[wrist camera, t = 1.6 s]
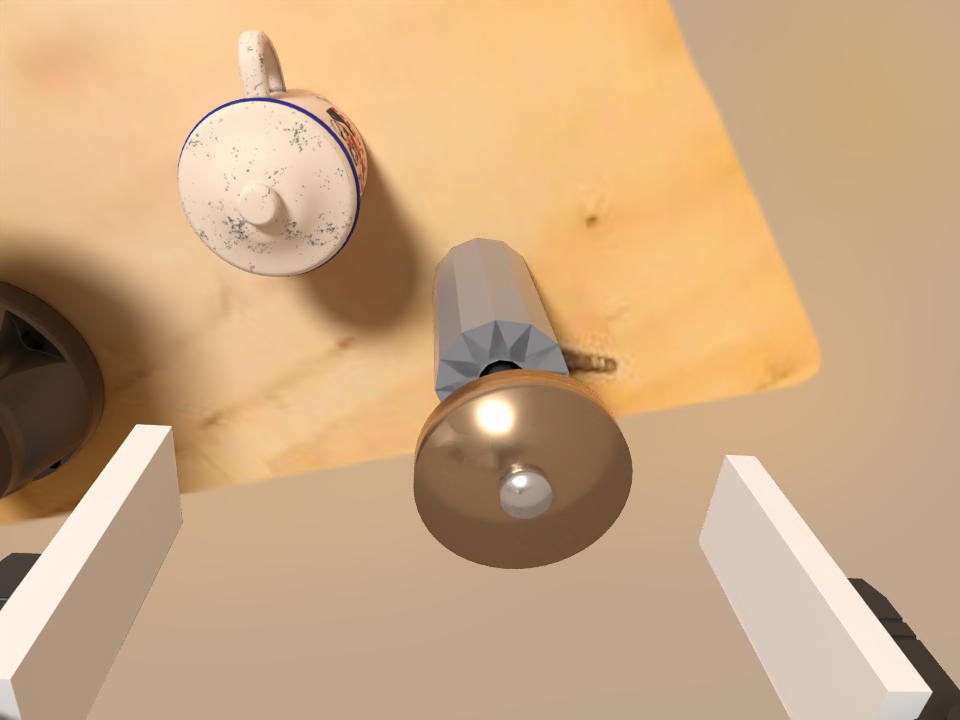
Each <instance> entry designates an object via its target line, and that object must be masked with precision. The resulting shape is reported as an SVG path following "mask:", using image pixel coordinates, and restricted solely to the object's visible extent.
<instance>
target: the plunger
mask: <svg viewBox="0 0 960 720" xmlns="http://www.w3.org/2000/svg"><path fill="white" fill-rule="evenodd" d="M487 367H488V372H489V375H486V376H483V377H480V378H478V379H476V380H473V381H471V382H469V383H467V384H465V385H464V386H462V387H460V388H459V389H457V390H456V391H454V392H453V393H452V394H450V395H449V396H448V397H446V398H445V399H444V400H443V401H442V402H441V403H440V404H439V405H438V406H437V407H436V408H435V410H434V411H433V412H432V414H431V415H430V416H429V418H428V419H427V421H426V423H425V424H424V426H423V428H422V430H421V433H420V435H419V438H418V441H417V445H416V450H415V460H414V461H415V462H414V497H415V502H416V506H417V509H418V512H419V514H420V516H421V519H422V521H423V523H424V524H425V526H426V527H427V529H428V530H429V532H430V533H431V534H432V535H433V536H434V537H435V538H436V539H437V540H438V541H439V542H440V543H441V544H442V545H444V546H445V547H446V548H447V549H449V550H450V551H452V552H453V553H455V554H456V555H459V556H461V557H463V558H465V559H467V560H469V561H472V562H475V563H478V564H481V565H486V566H490V567H497V568H504V569H523V568H533V567H539V566H544V565H548V564H551V563H555V562H558V561H561V560H563V559H566V558H568V557H571V556H573V555H575V554H576V553H578V552H580V551H582V550H584V549H585V548H587V547H588V546H590V545H591V544H593V543H594V542H595V541H596V540H598V539H599V538H600V537H601V536H602V535H603V534H604V533H605V532H606V531H607V530H608V529H609V528H610V527H611V525H613V523H614V522H615V520H616V519H617V518H618V516H619V515H620V513H621V511H622V509H623V508H624V506H625V503H626V501H627V498H628V496H629V492H630V488H631V483H632V461H631V456H630V452H629V448H628V446H627V444H626V441H625V439H624V437H623V435H622V432H621V430H620V428H619V426H618V424H617V422H616V420H615V418H614V416H613V414H612V412H611V411H610V409H609V408H608V406H607V405H606V404H605V403H604V401H603V400H602V399H601V398H600V397H599V396H598V395H597V394H596V393H594V392H593V391H592V390H591V389H590V388H588V387H586V386H585V385H583V384H582V383H580V382H578V381H576V380H574V379H572V378H570V377H567V376H565V375H561V374H558V373H555V372H550V371H544V370H538V369H515V370H511V366H510V361H505V360H498V361H496V362H493V363H490V364H488V365H487Z"/></svg>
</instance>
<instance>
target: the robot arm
mask: <svg viewBox="0 0 960 720" xmlns="http://www.w3.org/2000/svg"><path fill="white" fill-rule="evenodd" d="M103 406H104V387H103V381H102V376H101V373H100V370H99V367H98V364H97V362H96V360H95V358H94V356H93V354H92V352H91V350H90V348H89V347H88V345H87V344H86V342H85V341H84V339H83V338H82V337H81V336H80V334H79V333H78V332H77V331H76V330H75V328H74V327H73V326H72V325H71V324H70V323H69V322H68V321H67V320H66V319H65V318H64V317H62V316H61V315H60V314H59V313H58V312H57V311H55V310H54V309H53V308H51V307H50V306H49V305H47V304H46V303H44V302H43V301H41V300H39V299H38V298H36V297H34V296H33V295H31V294H29V293H27V292H25V291H23V290H21V289H19V288H16V287H14V286H11V285H9V284H6V283H3V282H0V499H2V498H4V497H6V496H8V495H10V494H12V493H14V492H16V491H18V490H20V489H22V488H23V487H25V486H27V485H29V484H30V483H31V482H33V481H36V480H39V479H41V478H43V477H45V476H47V475H49V474H51V473H53V472H55V471H56V470H58V469H59V468H61V467H62V466H64V465H65V464H66V463H67V462H69V461H70V460H71V459H72V458H73V457H74V456H75V455H76V454H77V453H78V452H79V450H80V449H81V448H82V447H83V446H84V444H85V443H86V442H87V441H88V439H89V438H90V437H91V436H92V434H93V433H94V431H95V429H96V428H97V426H98V424H99V421H100V418H101V415H102V411H103ZM182 523H183V522H182V512H181V503H180V494H179V485H178V476H177V466H176V457H175V448H174V439H173V430H172V426H160V425H141V424H137V425H136V426H135V427H134V429H133V430H132V431H131V433H130V434H129V436H128V437H127V438H126V440H125V441H124V442H123V444H122V445H121V446H120V448H119V449H118V451H117V452H116V453H115V455H114V456H113V457H112V459H111V460H110V462H109V463H108V464H107V466H106V467H105V468H104V470H103V471H102V472H101V474H100V475H99V477H98V478H97V479H96V481H95V482H94V483H93V485H92V486H91V488H90V489H89V490H88V492H87V493H86V494H85V496H84V497H83V498H82V500H81V501H80V503H79V504H78V505H77V507H76V508H75V509H74V511H73V512H72V514H71V515H70V516H69V518H68V519H67V520H66V522H65V523H64V525H63V526H62V527H61V529H60V530H59V531H58V533H57V534H56V536H55V537H54V538H53V539H52V541H51V542H50V544H49V545H48V547H47V548H46V549H45V550H44V552H43V553H42V554H31V553H30V554H29V553H11V554H10V555H9V556H7V557H6V558H4V559H3V560H1V561H0V720H85V719H86V717H87V714H88V713H89V711H90V709H91V707H92V704H93V702H94V700H95V698H96V696H97V694H98V692H99V690H100V688H101V686H102V684H103V682H104V680H105V678H106V676H107V674H108V672H109V670H110V668H111V666H112V664H113V662H114V660H115V658H116V656H117V654H118V652H119V650H120V648H121V646H122V644H123V642H124V639H125V638H126V636H127V634H128V632H129V630H130V627H131V626H132V624H133V621H134V620H135V618H136V616H137V614H138V612H139V610H140V608H141V605H142V603H143V601H144V599H145V597H146V595H147V593H148V591H149V589H150V587H151V585H152V583H153V581H154V579H155V577H156V575H157V573H158V571H159V569H160V567H161V565H162V563H163V561H164V559H165V557H166V555H167V553H168V551H169V549H170V547H171V545H172V543H173V541H174V539H175V537H176V535H177V533H178V530H179V529H180V527H181V525H182ZM698 542H699V544H700V546H701V548H702V550H703V552H704V554H705V556H706V558H707V559H708V561H709V563H710V565H711V567H712V569H713V571H714V573H715V575H716V577H717V579H718V581H719V582H720V585H721V587H722V588H723V590H724V592H725V594H726V596H727V598H728V600H729V602H730V604H731V606H732V607H733V610H734V612H735V613H736V615H737V617H738V619H739V621H740V623H741V625H742V627H743V629H744V631H745V633H746V635H747V637H748V638H749V640H750V642H751V644H752V646H753V648H754V650H755V652H756V654H757V656H758V658H759V660H760V662H761V663H762V665H763V667H764V669H765V671H766V673H767V675H768V677H769V679H770V681H771V683H772V685H773V687H774V689H775V690H776V692H777V694H778V696H779V698H780V700H781V702H782V704H783V706H784V708H785V710H786V711H787V713H788V715H789V717H790V719H791V720H960V690H959V689H958V688H957V686H956V685H955V684H954V682H953V681H952V680H951V679H950V677H949V676H948V675H947V674H946V672H945V671H944V670H943V669H942V667H941V666H940V665H939V664H938V663H937V661H936V660H935V659H934V657H933V656H932V655H931V654H930V652H929V651H928V650H927V649H926V647H925V646H924V645H923V644H922V642H921V641H920V640H917V639H916V635H915V634H914V632H913V631H912V630H911V629H910V627H909V626H908V625H907V624H906V623H903V621H902V617H901V616H900V615H899V613H898V612H897V611H896V610H895V608H894V607H893V606H892V605H891V603H890V602H889V601H888V600H887V598H886V597H885V596H883V595H882V594H881V593H879V592H878V591H877V590H876V589H874V588H873V587H872V586H871V585H869V584H868V583H867V582H865V581H864V580H863V579H853V578H846V576H845V575H844V574H843V572H842V571H841V570H840V569H839V567H838V566H837V565H836V563H835V562H834V561H833V559H832V558H831V557H830V555H829V554H828V553H827V551H826V550H825V549H824V547H823V546H822V545H821V543H820V542H819V541H818V539H817V538H816V537H815V535H814V534H813V533H812V531H811V530H810V529H809V527H808V526H807V525H806V523H805V522H804V521H803V519H802V518H801V517H800V515H799V514H798V513H797V511H796V510H795V509H794V507H793V506H792V505H791V504H790V502H789V501H788V500H787V498H786V497H785V496H784V495H783V493H782V492H781V490H780V489H779V488H778V486H777V485H776V484H775V482H774V481H773V480H772V478H771V477H770V476H769V474H768V473H767V472H766V470H765V469H764V468H763V466H762V465H761V464H760V462H759V461H758V460H757V459H756V457H755V456H737V455H736V456H735V455H725V458H724V462H723V465H722V468H721V471H720V474H719V477H718V481H717V484H716V487H715V490H714V494H713V497H712V500H711V503H710V506H709V509H708V513H707V516H706V519H705V522H704V525H703V528H702V532H701V535H700V538H699V541H698Z"/></svg>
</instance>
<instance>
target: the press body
mask: <svg viewBox="0 0 960 720" xmlns="http://www.w3.org/2000/svg"><path fill="white" fill-rule="evenodd" d="M433 323H434V372H435V391H436V394H437V396H438V398H439V400H440V402H442V401H443V400H444V399H445V398H446V397H448V396H449V395H450V394H452V393H453V392H454V391H456V390H457V389H459V388H460V387H462V386H464V385H465V384H467V383H469V382H471V381H473V380H476V379H478V378H480V377H483V376H486V375H489V372H488V367H487V365H488V364H490V363H493V362H496V361H498V360H505V361H510V366H511V370H515V369H538V370H544V371H550V372H555V373H558V374H561V375H565V376H567V377H568V376H569V371H568V369H567V366H566V363H565V360H564V358H563V355H562V352H561V350H560V347H559V344H558V341H557V339H556V337H555V334H554V332H553V329H552V327H551V324H550V322H549V319H548V317H547V315H546V312H545V310H544V307H543V305H542V302H541V300H540V298H539V295H538V293H537V290H536V288H535V285H534V283H533V281H532V278H531V276H530V273H529V271H528V268H527V266H526V263H525V261H524V259H523V257H522V256H521V255H519V254H518V253H517V252H516V251H514V250H513V249H512V248H510V247H509V246H508V245H507V244H505V243H504V242H502V241H495V240H487V239H480V238H476V239H473V240H471V241H468V242H466V243H463V244H461V245H458V246H456V247H453V248H452V249H451V250H450V251H449V253H448V254H447V255H446V256H445V258H444V259H443V260H442V261H441V263H440V264H439V265H438V266H437V268H436V273H435V281H434V288H433Z"/></svg>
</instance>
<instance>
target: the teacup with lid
mask: <svg viewBox="0 0 960 720" xmlns="http://www.w3.org/2000/svg"><path fill="white" fill-rule="evenodd" d="M238 63H239V70H240V76H241V81H242V85H243V90H244V94H245V99H240V100H236V101H232V102H229V103H227V104H224V105H222V106H220V107H218V108H216V109H214V110H213V111H211V112H210V113H208V114H207V115H206V116H205V117H204V118H202V119H201V120H200V122H199V123H198V124H197V125H196V126H195V127H194V129H193V130H192V131H191V133H190V134H189V136H188V138H187V139H186V141H185V144H184V146H183V148H182V152H181V155H180V159H179V164H178V189H179V195H180V200H181V204H182V207H183V210H184V212H185V215H186V217H187V219H188V221H189V223H190V225H191V227H192V228H193V230H194V231H195V233H196V234H197V235H198V237H199V238H200V239H201V240H202V242H203V243H204V244H205V245H206V246H207V247H208V248H209V249H210V250H211V251H213V252H214V253H215V254H216V255H217V256H219V257H220V258H221V259H223V260H224V261H226V262H228V263H229V264H231V265H233V266H235V267H237V268H239V269H242V270H244V271H247V272H250V273H253V274H258V275H262V276H270V277H286V276H294V275H299V274H303V273H307V272H309V271H312V270H314V269H316V268H319V267H320V266H322V265H324V264H325V263H327V262H328V261H330V260H331V259H332V258H333V257H334V256H336V255H337V254H338V253H339V252H340V250H341V249H342V248H343V247H344V246H345V244H346V243H347V241H348V240H349V238H350V236H351V234H352V232H353V230H354V228H355V225H356V222H357V219H358V214H359V208H360V199H361V196H362V194H363V191H364V188H365V184H366V179H367V157H366V151H365V148H364V144H363V142H362V139H361V137H360V135H359V133H358V131H357V129H356V127H355V126H354V124H353V123H352V121H351V120H350V119H349V118H348V117H347V115H346V114H345V113H344V112H343V111H342V110H341V109H339V108H338V107H337V106H336V105H334V104H333V103H332V102H330V101H328V100H327V99H325V98H323V97H321V96H319V95H317V94H314V93H311V92H308V91H304V90H298V89H286V87H285V82H284V78H283V73H282V69H281V65H280V61H279V58H278V55H277V53H276V50H275V48H274V46H273V44H272V42H271V40H270V39H269V37H268V36H267V35H266V34H265V33H264V32H262V31H258V30H253V31H246V32H244V33H242V34H241V36H240V38H239V41H238Z"/></svg>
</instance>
